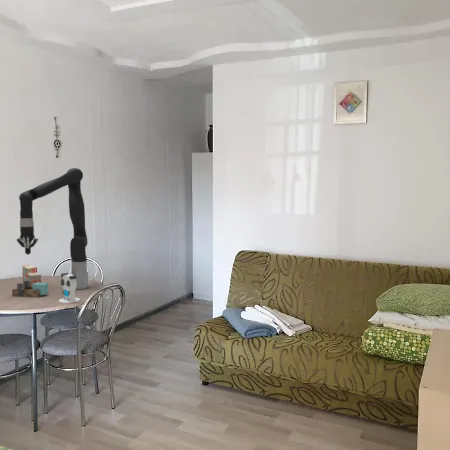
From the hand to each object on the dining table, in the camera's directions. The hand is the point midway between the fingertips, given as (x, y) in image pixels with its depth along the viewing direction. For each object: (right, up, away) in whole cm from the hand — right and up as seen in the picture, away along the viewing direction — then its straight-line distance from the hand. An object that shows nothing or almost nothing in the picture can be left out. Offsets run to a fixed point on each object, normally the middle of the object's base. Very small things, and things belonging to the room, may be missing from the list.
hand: (28, 254), depth 288 cm
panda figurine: (+30, -26, -15) cm, 42 cm away
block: (+10, -23, -6) cm, 26 cm away
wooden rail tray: (+3, -24, -5) cm, 24 cm away
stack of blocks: (-4, -22, +17) cm, 28 cm away
